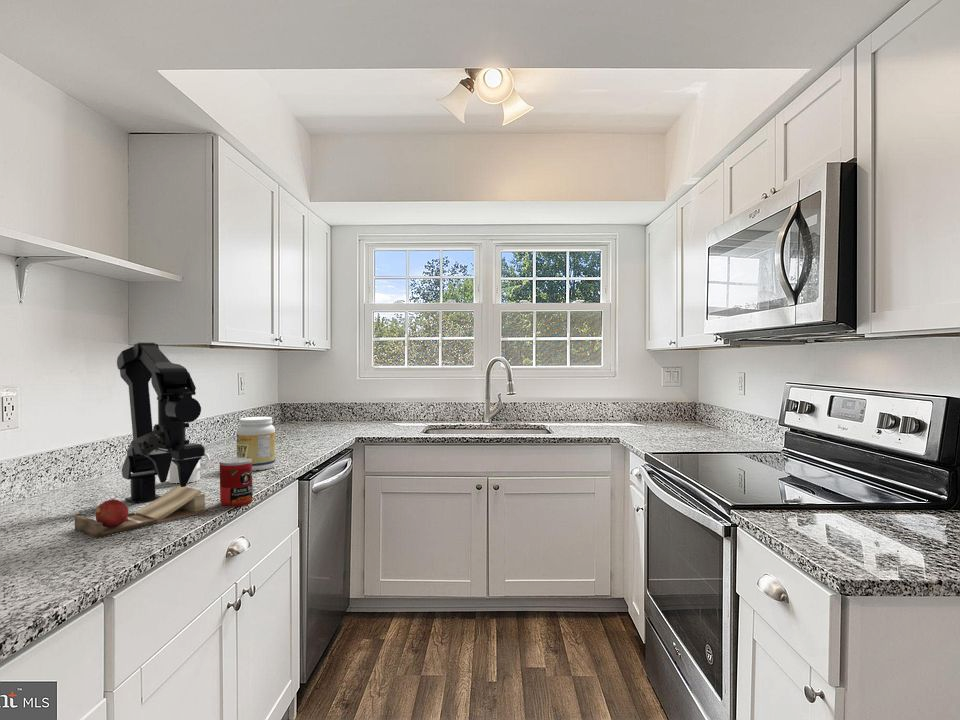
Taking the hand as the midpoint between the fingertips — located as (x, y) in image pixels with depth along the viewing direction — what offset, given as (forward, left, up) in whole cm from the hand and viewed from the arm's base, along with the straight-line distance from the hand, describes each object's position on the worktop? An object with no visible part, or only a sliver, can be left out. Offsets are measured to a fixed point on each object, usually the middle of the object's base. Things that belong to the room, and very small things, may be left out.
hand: (172, 484), depth 136 cm
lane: (0, -7, -7) cm, 10 cm away
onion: (+3, -18, -1) cm, 18 cm away
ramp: (0, -1, -7) cm, 7 cm away
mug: (-32, +22, -7) cm, 39 cm away
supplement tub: (-33, +45, -7) cm, 56 cm away
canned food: (+4, +14, -7) cm, 16 cm away
